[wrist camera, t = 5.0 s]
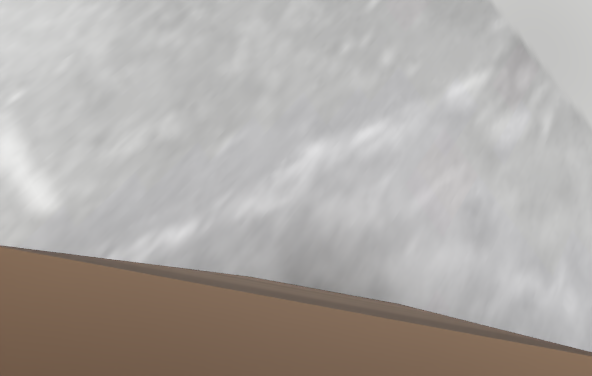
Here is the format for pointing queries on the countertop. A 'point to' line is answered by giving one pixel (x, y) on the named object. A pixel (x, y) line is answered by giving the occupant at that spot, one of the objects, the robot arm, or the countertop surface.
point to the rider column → (235, 327)
